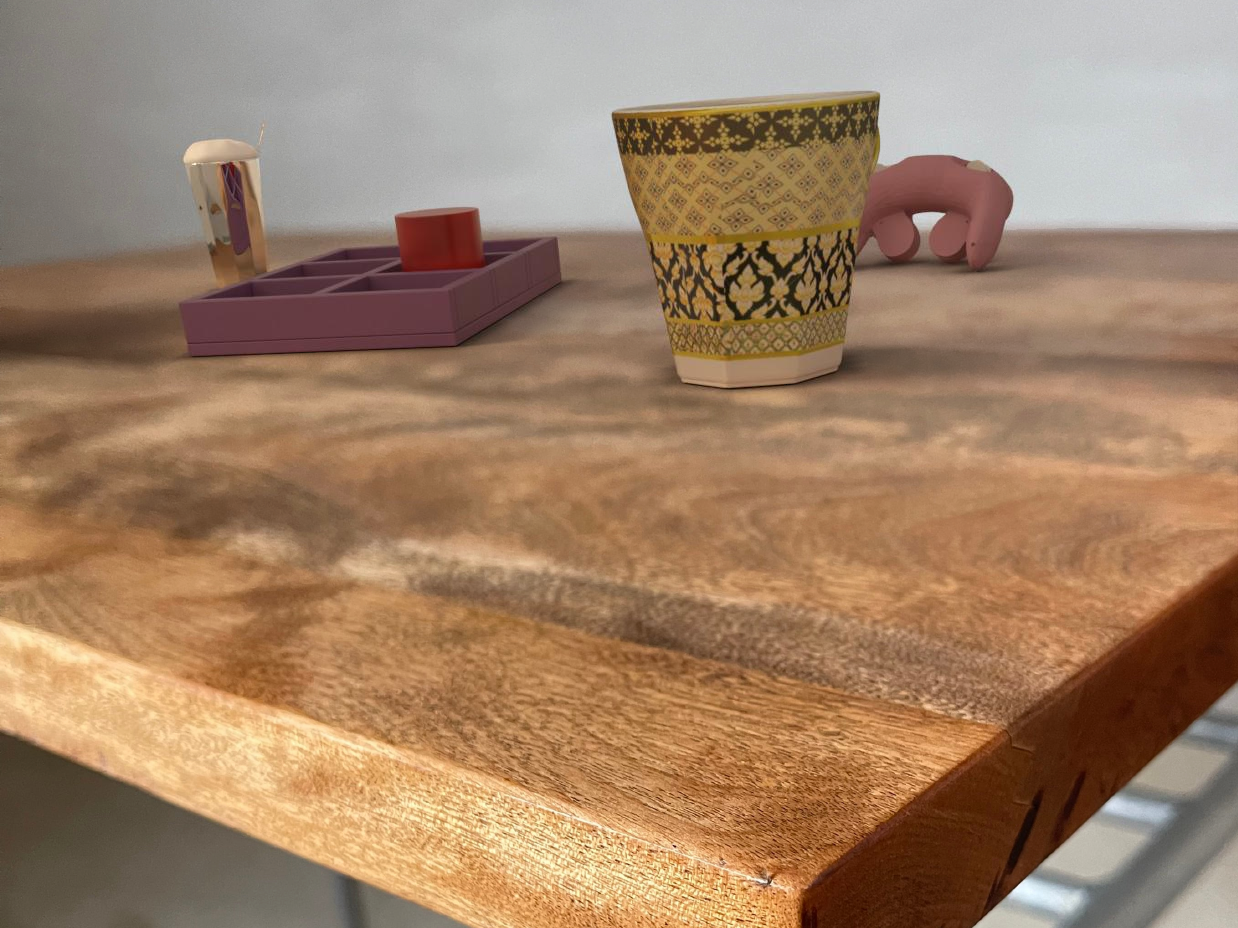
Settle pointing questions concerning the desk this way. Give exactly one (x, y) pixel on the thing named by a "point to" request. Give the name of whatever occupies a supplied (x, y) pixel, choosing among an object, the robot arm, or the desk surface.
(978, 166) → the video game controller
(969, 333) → the desk surface
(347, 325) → the purple compartment tray
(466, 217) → the red cylinder
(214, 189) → the milkshake
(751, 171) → the ceramic cup
